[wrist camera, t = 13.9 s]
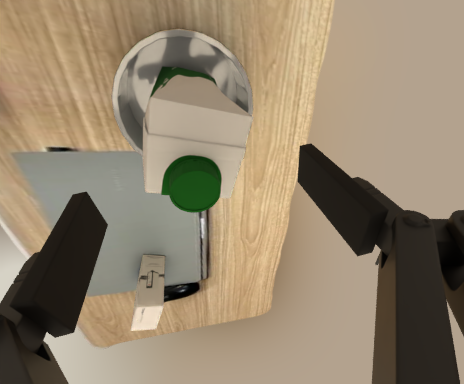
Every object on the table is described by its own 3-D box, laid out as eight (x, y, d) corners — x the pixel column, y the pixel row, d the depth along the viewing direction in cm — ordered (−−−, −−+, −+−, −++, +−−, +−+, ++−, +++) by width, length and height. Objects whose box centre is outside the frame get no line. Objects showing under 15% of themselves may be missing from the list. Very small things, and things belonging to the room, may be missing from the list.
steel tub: (100, 39, 27) (82, 43, 22) (232, 19, 29) (247, 17, 23) (147, 159, 37) (142, 182, 32) (244, 139, 39) (256, 158, 33)
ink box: (159, 279, 55) (156, 331, 46) (137, 278, 53) (129, 332, 44) (166, 255, 51) (165, 306, 41) (142, 253, 49) (135, 307, 40)
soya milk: (151, 125, 34) (134, 213, 18) (155, 55, 29) (136, 90, 13) (210, 134, 36) (240, 218, 20) (222, 71, 32) (274, 118, 16)
